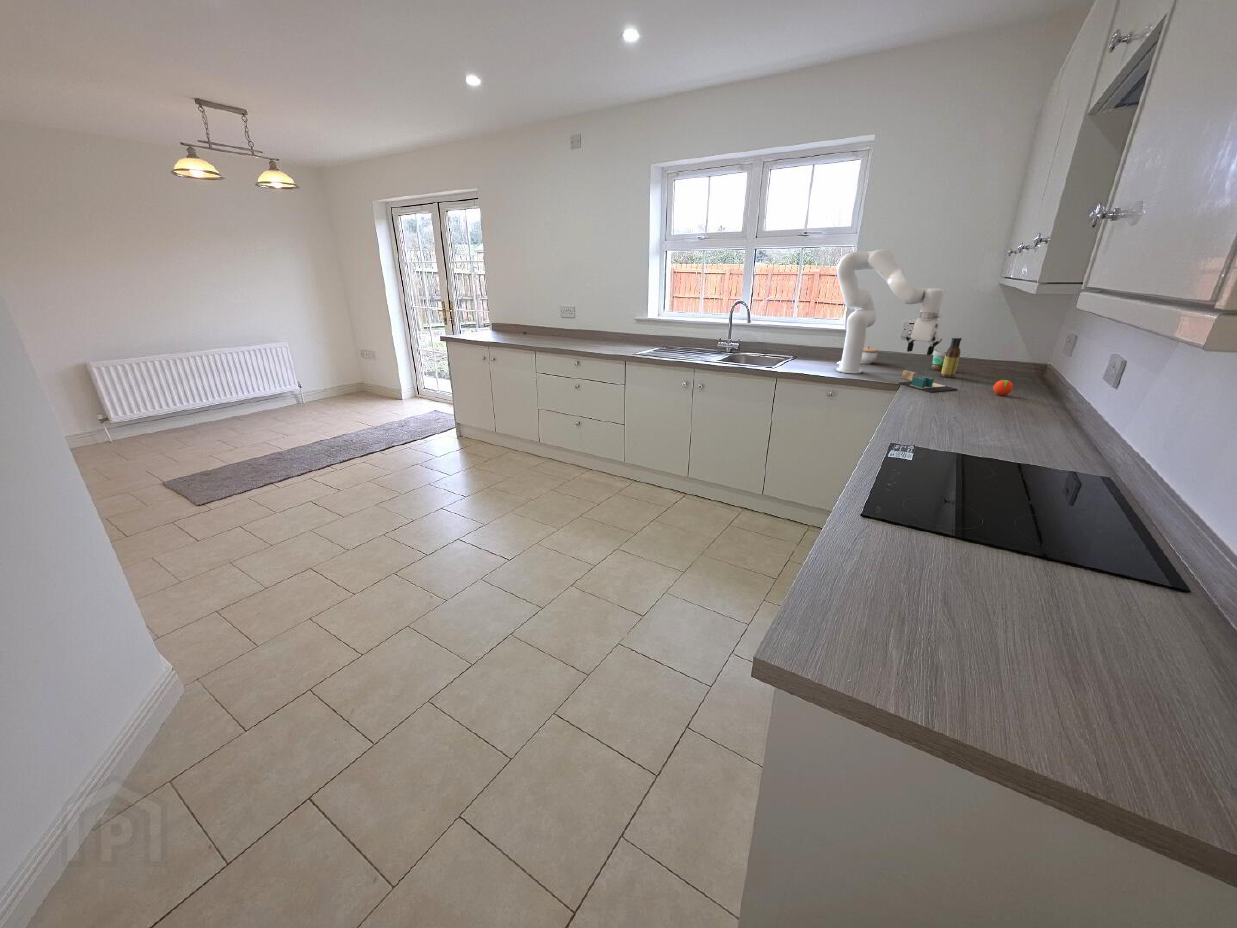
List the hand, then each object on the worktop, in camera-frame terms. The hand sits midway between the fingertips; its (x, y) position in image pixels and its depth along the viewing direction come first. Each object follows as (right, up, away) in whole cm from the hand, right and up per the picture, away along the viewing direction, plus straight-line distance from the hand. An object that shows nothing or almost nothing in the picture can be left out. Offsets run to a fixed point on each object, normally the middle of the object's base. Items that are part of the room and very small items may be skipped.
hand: (919, 353), depth 233 cm
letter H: (-1, -17, -4) cm, 17 cm away
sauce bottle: (+25, -9, +17) cm, 31 cm away
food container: (+29, -2, +31) cm, 43 cm away
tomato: (+26, -23, -17) cm, 39 cm away
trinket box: (-1, +5, +49) cm, 49 cm away
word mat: (+2, -17, -3) cm, 17 cm away
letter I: (+1, -11, +10) cm, 15 cm away
